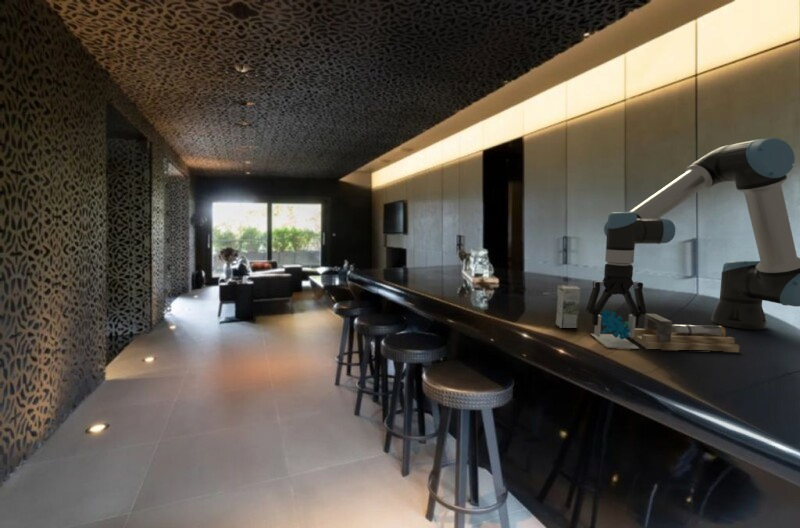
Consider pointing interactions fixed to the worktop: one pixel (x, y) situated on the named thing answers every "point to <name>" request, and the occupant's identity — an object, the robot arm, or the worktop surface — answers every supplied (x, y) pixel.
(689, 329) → the shaft
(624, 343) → the pad
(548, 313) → the worktop surface
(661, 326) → the stepped wooden platform
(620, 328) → the blue knobby toy
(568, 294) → the syrup box
